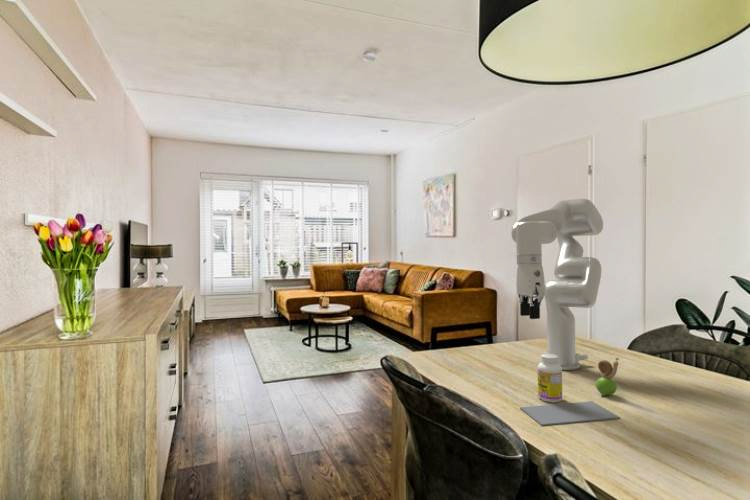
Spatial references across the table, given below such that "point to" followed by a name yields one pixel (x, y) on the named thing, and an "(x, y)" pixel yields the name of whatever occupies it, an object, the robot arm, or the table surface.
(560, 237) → the robot arm
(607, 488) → the table surface
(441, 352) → the table surface
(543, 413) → the mat
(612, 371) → the snail figurine
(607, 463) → the table surface
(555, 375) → the supplement bottle
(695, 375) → the table surface
